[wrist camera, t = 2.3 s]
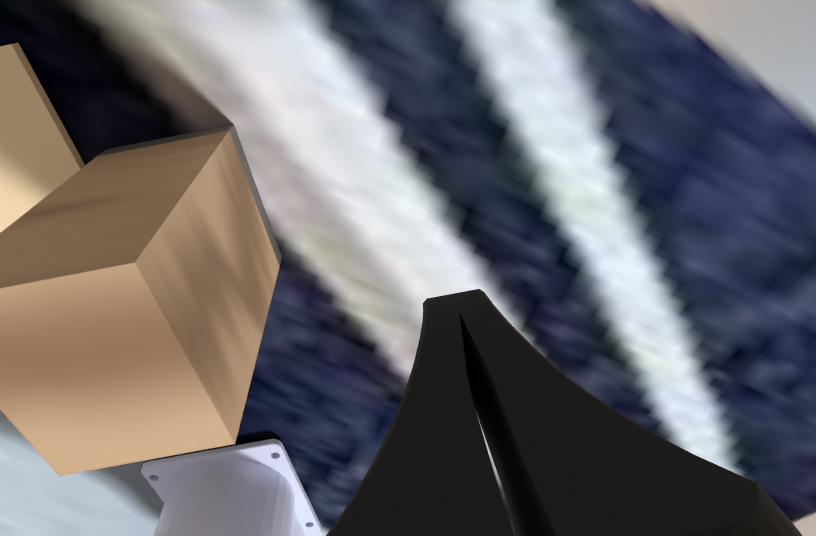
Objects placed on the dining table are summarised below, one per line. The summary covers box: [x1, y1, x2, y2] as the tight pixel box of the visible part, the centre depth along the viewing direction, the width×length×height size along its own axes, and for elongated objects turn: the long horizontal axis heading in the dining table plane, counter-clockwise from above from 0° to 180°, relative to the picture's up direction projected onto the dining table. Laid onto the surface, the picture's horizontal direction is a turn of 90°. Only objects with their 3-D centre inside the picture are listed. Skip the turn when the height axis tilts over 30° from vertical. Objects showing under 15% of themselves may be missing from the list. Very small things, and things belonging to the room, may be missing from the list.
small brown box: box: [0, 124, 282, 476], centre depth 17 cm, size 6×5×10 cm
